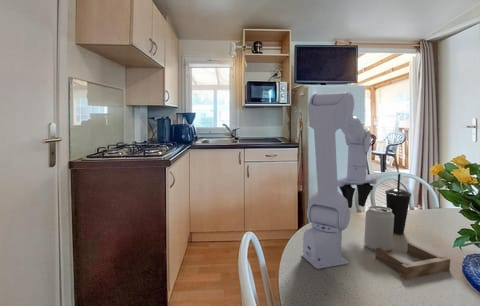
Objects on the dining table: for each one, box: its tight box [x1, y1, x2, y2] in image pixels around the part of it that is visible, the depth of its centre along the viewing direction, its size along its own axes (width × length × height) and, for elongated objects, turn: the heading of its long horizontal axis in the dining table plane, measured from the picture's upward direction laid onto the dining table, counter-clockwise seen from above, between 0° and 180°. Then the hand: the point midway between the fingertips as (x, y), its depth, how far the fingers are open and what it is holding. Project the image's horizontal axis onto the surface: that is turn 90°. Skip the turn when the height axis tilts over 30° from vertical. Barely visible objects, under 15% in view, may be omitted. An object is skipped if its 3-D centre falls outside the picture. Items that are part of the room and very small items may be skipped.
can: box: [363, 205, 394, 252], centre depth 83 cm, size 8×8×12 cm
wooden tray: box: [374, 242, 451, 281], centre depth 73 cm, size 14×10×3 cm
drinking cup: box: [385, 173, 412, 236], centre depth 94 cm, size 8×8×20 cm
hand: (355, 206), depth 92 cm, fingers open, 4 cm apart
